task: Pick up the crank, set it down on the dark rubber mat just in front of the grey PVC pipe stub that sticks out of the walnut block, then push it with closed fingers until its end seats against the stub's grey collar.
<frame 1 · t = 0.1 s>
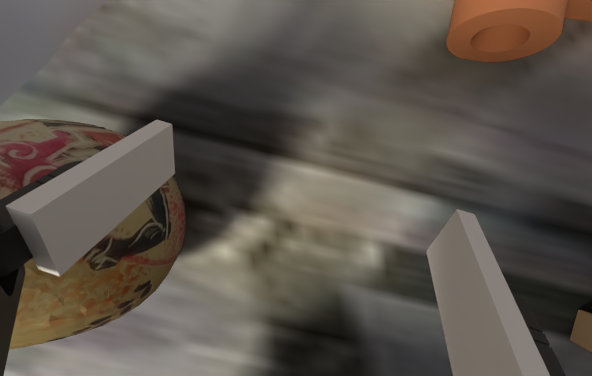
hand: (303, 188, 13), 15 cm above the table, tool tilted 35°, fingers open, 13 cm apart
ceramic jug: (137, 209, 30), on the table
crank: (542, 32, 28), on the table
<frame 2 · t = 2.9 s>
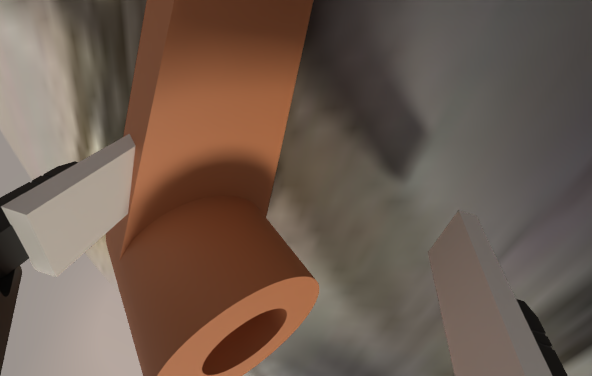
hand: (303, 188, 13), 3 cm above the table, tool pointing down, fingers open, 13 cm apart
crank: (300, 163, 14), point 2 cm above the table, touching gripper
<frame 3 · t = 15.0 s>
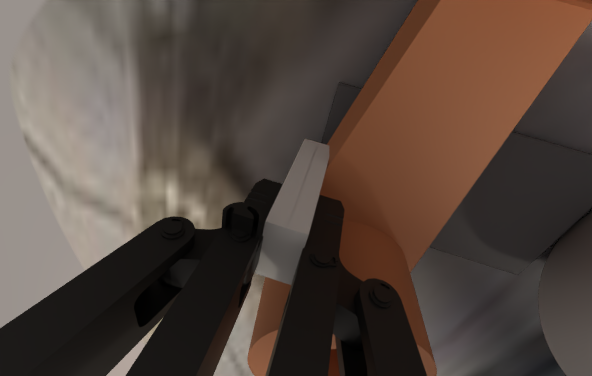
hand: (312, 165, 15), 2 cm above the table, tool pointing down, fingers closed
gasket mat: (438, 187, 16), on the table
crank: (471, 232, 12), point 4 cm above the table, touching gasket mat, gripper
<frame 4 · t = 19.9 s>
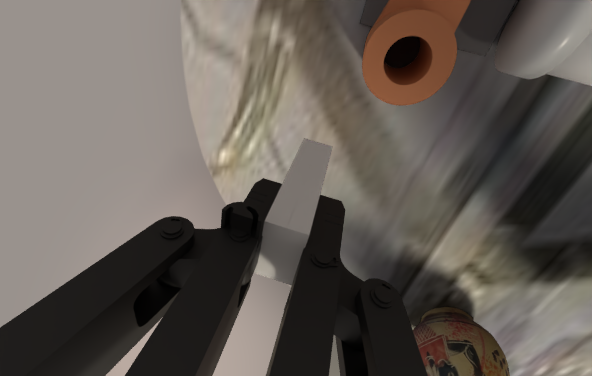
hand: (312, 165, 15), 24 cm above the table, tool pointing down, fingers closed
ceramic jug: (440, 319, 56), on the table
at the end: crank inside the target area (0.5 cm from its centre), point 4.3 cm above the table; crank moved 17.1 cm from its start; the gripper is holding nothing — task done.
